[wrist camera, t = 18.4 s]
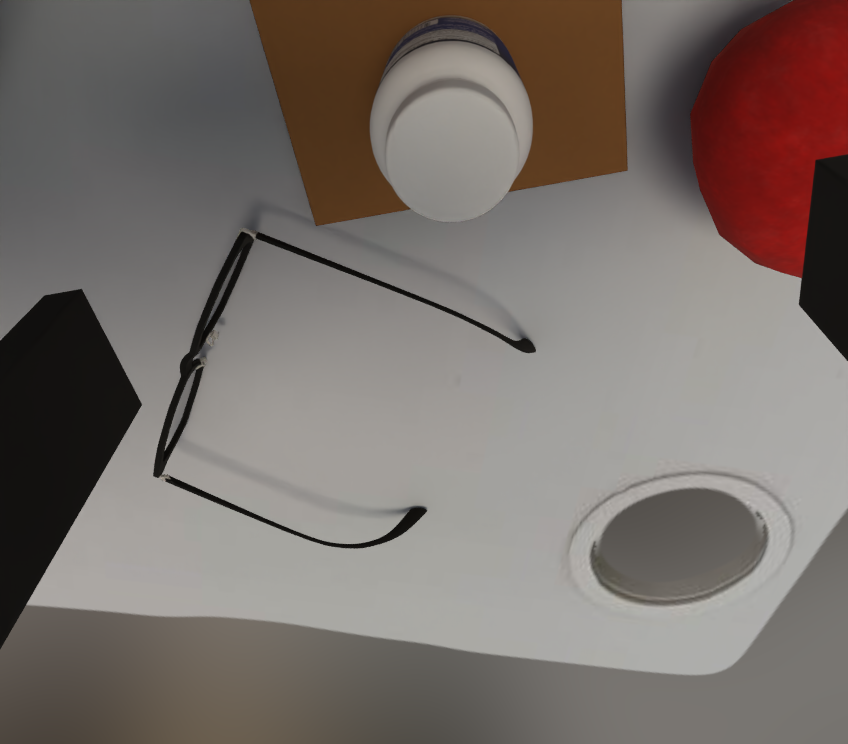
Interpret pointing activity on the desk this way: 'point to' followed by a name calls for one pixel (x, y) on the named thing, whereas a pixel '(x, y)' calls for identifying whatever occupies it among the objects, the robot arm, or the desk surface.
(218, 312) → the eyeglasses
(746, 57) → the apple
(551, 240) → the desk surface
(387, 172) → the pill bottle
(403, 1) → the mat
